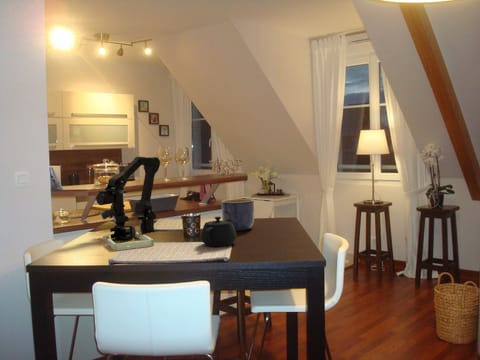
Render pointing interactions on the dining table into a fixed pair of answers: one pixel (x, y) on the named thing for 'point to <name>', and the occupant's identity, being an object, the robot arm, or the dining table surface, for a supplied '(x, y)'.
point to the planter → (239, 213)
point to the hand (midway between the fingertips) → (119, 234)
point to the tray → (132, 244)
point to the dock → (138, 235)
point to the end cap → (123, 233)
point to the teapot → (218, 233)
